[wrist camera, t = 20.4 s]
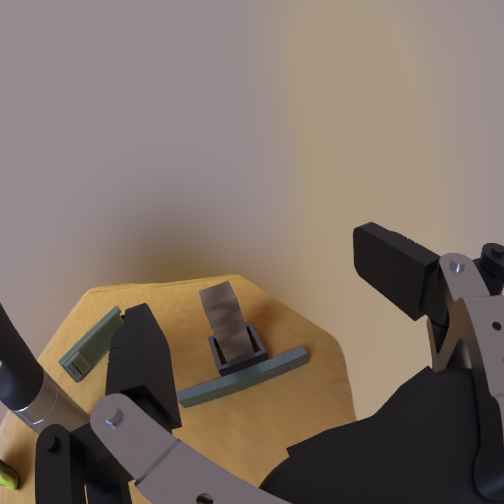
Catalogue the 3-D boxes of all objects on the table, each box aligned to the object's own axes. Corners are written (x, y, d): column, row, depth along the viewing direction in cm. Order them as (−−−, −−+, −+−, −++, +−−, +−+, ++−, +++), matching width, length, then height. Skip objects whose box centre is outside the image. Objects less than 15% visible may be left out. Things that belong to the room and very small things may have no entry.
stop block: (229, 368, 45) (203, 309, 38) (222, 349, 49) (198, 291, 43) (256, 358, 46) (236, 297, 39) (247, 340, 50) (228, 280, 44)
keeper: (184, 408, 39) (178, 400, 37) (175, 358, 49) (170, 349, 48) (308, 362, 43) (307, 353, 41) (280, 320, 53) (278, 310, 52)
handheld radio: (72, 379, 47) (137, 313, 65) (79, 385, 45) (145, 316, 64) (56, 360, 43) (126, 293, 62) (62, 366, 42) (134, 295, 60)
